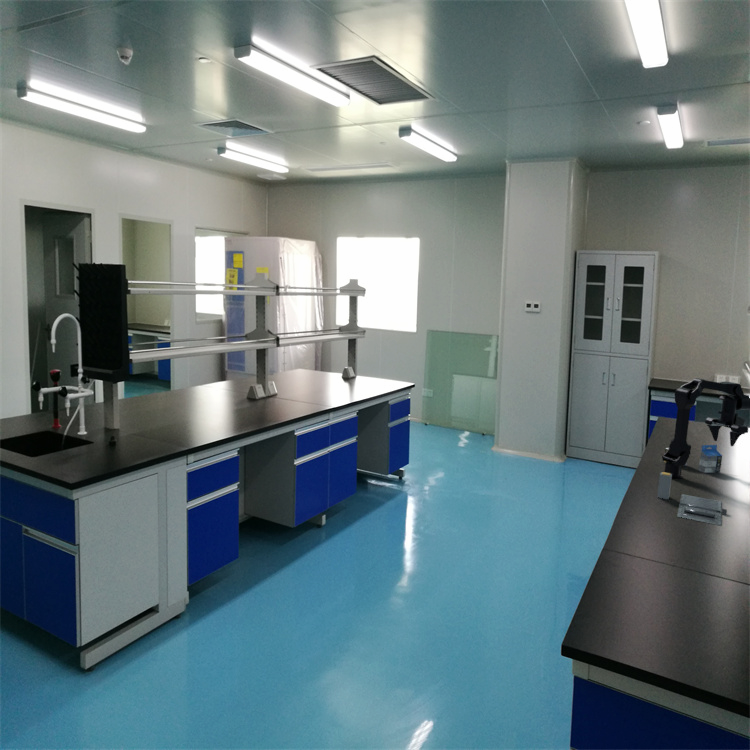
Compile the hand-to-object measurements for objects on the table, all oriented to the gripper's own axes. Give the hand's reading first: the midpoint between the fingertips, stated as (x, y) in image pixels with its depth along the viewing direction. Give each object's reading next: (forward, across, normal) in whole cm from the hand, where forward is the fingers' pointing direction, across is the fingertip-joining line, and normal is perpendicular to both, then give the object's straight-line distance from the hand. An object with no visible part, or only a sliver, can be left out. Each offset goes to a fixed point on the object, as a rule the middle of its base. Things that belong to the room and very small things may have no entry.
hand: (723, 443), depth 277 cm
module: (+15, -24, +51) cm, 58 cm away
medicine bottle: (+15, +17, +10) cm, 24 cm away
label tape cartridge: (+14, +3, +3) cm, 15 cm away
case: (+15, -38, +46) cm, 61 cm away
